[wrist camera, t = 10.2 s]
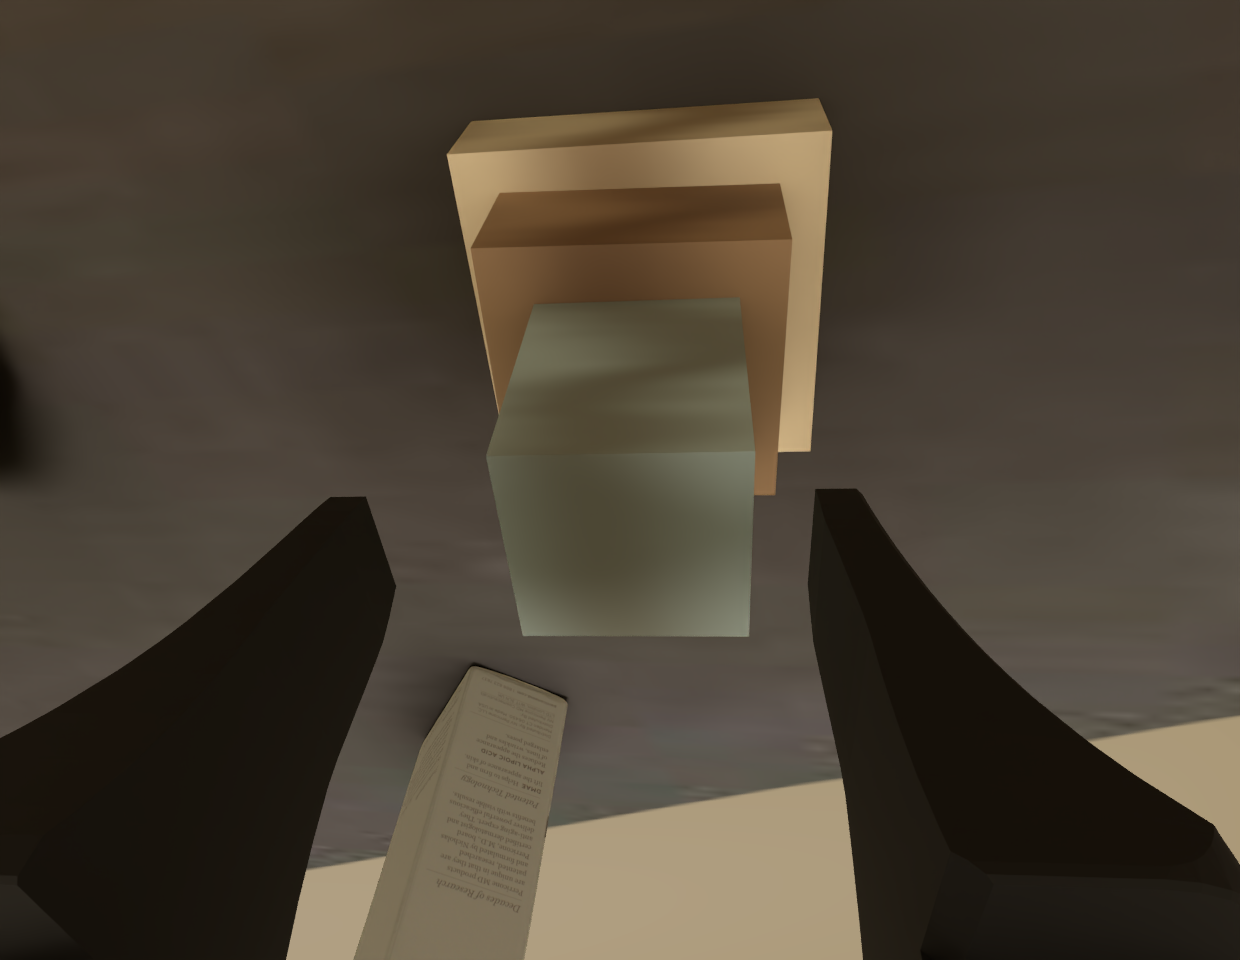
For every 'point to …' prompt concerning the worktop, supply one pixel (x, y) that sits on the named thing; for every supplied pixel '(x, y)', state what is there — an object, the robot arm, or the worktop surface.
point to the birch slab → (674, 157)
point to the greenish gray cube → (628, 470)
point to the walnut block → (644, 271)
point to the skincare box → (470, 828)
